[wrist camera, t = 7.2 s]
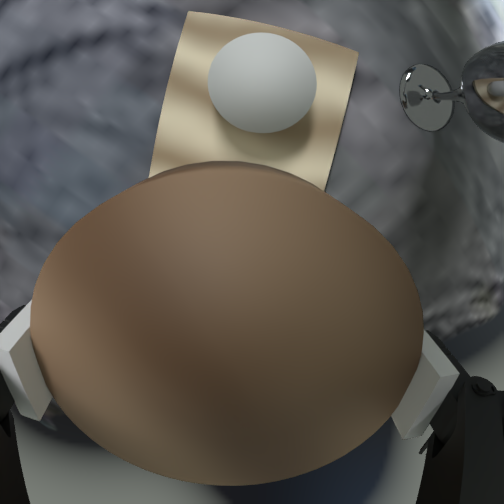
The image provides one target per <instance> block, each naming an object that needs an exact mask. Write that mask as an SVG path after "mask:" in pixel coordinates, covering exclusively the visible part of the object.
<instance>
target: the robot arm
mask: <svg viewBox="0 0 504 504" xmlns="http://www.w3.org/2000/svg"><path fill="white" fill-rule="evenodd" d="M31 303H32V300H31V301H30V302H29V303H28V304H27V305H23V306H21V307H19V308H17V309H16V310H14V311H12V312H11V313H10V314H9V315H8V316H7V317H6V318H5V321H3V322H2V323H1V324H0V504H30V501H29V497H28V494H27V490H26V486H25V481H24V477H23V472H22V468H21V463H20V457H19V452H18V446H17V440H16V433H15V425H14V418H13V415H12V413H11V411H10V409H11V407H12V405H13V404H14V402H15V404H16V406H17V408H18V410H19V412H20V414H21V415H23V416H26V417H29V418H32V419H35V420H38V421H40V420H41V418H42V416H43V414H44V412H45V410H46V408H47V406H48V404H49V402H50V401H51V399H52V397H53V396H52V394H51V392H50V391H49V389H48V387H47V386H46V384H45V381H44V378H43V376H42V373H41V370H40V368H39V365H38V362H37V359H36V356H35V353H34V350H33V347H32V340H31V332H30V311H31ZM391 417H392V419H393V421H394V423H395V425H396V427H397V429H398V431H399V433H400V436H401V438H402V440H405V439H410V438H414V437H418V436H422V434H423V433H424V431H425V430H426V428H427V427H428V425H429V424H430V425H431V426H432V428H433V430H434V431H433V433H432V434H431V436H430V437H429V439H428V440H427V441H426V443H425V444H424V445H423V447H422V448H421V449H420V452H419V454H422V453H423V451H424V450H425V449H426V448H427V447H428V448H427V453H426V459H425V465H424V470H423V475H422V480H421V484H420V488H419V493H418V497H417V501H416V504H504V391H497V389H496V387H495V386H494V385H493V384H492V383H491V382H490V381H488V380H487V379H484V378H482V377H478V376H472V377H470V376H469V374H468V373H467V372H466V371H465V369H464V368H463V367H462V366H461V365H460V363H459V362H458V361H457V360H456V358H455V357H454V356H453V355H451V352H450V351H449V350H448V349H447V348H445V345H444V344H443V343H442V342H441V340H440V339H439V338H438V337H436V336H435V335H433V334H432V333H431V332H429V331H425V330H424V335H423V345H422V353H421V357H420V360H419V364H418V368H417V370H416V372H415V374H414V376H413V378H412V381H411V383H410V385H409V386H408V388H407V390H406V392H405V394H404V396H403V398H402V400H401V402H400V404H399V406H398V407H397V408H396V410H395V411H394V412H393V413H392V415H391Z"/></svg>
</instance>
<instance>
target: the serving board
mask: <svg viewBox="0 0 504 504" xmlns="http://www.w3.org/2000/svg"><path fill="white" fill-rule="evenodd" d="M251 33H271V34H276V35H279V36H282V37H285V38H287V39H289V40H291V41H292V42H294V43H295V44H297V45H298V46H299V47H300V48H301V49H302V50H303V51H304V52H305V53H306V54H307V56H308V57H309V59H310V61H311V62H312V64H313V67H314V70H315V73H316V80H317V89H316V95H315V98H314V101H313V103H312V105H311V107H310V109H309V110H308V112H307V113H306V114H305V115H304V117H303V118H302V119H300V120H299V121H298V122H297V123H295V124H294V125H292V126H290V127H288V128H286V129H284V130H281V131H277V132H272V133H254V132H248V131H245V130H242V129H239V128H237V127H235V126H234V125H232V124H230V123H229V122H228V121H227V120H225V119H224V118H223V117H222V116H221V115H220V113H219V112H218V111H217V109H216V108H215V106H214V104H213V103H212V100H211V98H210V95H209V91H208V74H209V69H210V66H211V63H212V61H213V59H214V58H215V56H216V55H217V53H218V52H219V51H220V50H221V49H222V48H223V47H224V46H225V45H226V44H227V43H229V42H230V41H232V40H234V39H236V38H238V37H240V36H243V35H246V34H251ZM358 54H359V52H356V51H353V50H351V49H348V48H345V47H343V46H340V45H337V44H334V43H331V42H328V41H325V40H322V39H319V38H316V37H313V36H309V35H306V34H302V33H299V32H295V31H292V30H288V29H284V28H280V27H276V26H272V25H268V24H264V23H259V22H254V21H250V20H244V19H239V18H234V17H228V16H222V15H215V14H208V13H200V12H192V11H188V14H187V17H186V21H185V24H184V27H183V30H182V34H181V37H180V40H179V44H178V47H177V51H176V55H175V58H174V62H173V66H172V70H171V73H170V77H169V81H168V85H167V90H166V94H165V98H164V102H163V107H162V111H161V116H160V121H159V126H158V131H157V136H156V141H155V146H154V151H153V157H152V163H151V169H150V175H149V178H150V177H152V176H154V175H156V174H158V173H161V172H163V171H166V170H169V169H173V168H176V167H180V166H183V165H187V164H193V163H200V162H207V161H242V162H249V163H255V164H261V165H266V166H270V167H273V168H276V169H279V170H283V171H286V172H289V173H291V174H293V175H296V176H298V177H300V178H302V179H304V180H306V181H308V182H310V183H312V184H314V185H315V186H317V187H318V188H320V189H321V190H323V191H324V189H325V186H326V182H327V179H328V175H329V171H330V168H331V164H332V160H333V157H334V153H335V149H336V145H337V142H338V138H339V134H340V130H341V126H342V122H343V118H344V114H345V110H346V106H347V102H348V98H349V94H350V90H351V85H352V81H353V77H354V72H355V68H356V63H357V59H358Z"/></svg>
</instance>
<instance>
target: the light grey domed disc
mask: <svg viewBox="0 0 504 504" xmlns="http://www.w3.org/2000/svg"><path fill="white" fill-rule="evenodd" d="M316 89H317V80H316V73H315V70H314V67H313V64H312V62H311V61H310V59H309V57H308V56H307V54H306V53H305V52H304V51H303V50H302V49H301V48H300V47H299V46H298V45H297V44H295V43H294V42H292V41H291V40H289V39H287V38H285V37H282V36H279V35H276V34H271V33H251V34H246V35H243V36H240V37H238V38H236V39H234V40H232V41H230V42H229V43H227V44H226V45H225V46H224V47H223V48H222V49H221V50H220V51H219V52H218V53H217V55H216V56H215V58H214V59H213V61H212V63H211V66H210V69H209V74H208V91H209V95H210V98H211V100H212V103H213V104H214V106H215V108H216V109H217V111H218V112H219V113H220V115H221V116H222V117H223V118H224V119H225V120H227V121H228V122H229V123H230V124H232V125H234V126H235V127H237V128H239V129H242V130H245V131H248V132H254V133H272V132H277V131H281V130H284V129H286V128H288V127H290V126H292V125H294V124H295V123H297V122H298V121H299V120H300V119H302V118H303V117H304V115H305V114H306V113H307V112H308V110H309V109H310V107H311V105H312V103H313V101H314V98H315V95H316Z"/></svg>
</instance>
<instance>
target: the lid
mask: <svg viewBox="0 0 504 504" xmlns="http://www.w3.org/2000/svg"><path fill="white" fill-rule="evenodd" d="M30 332H31V340H32V347H33V350H34V353H35V356H36V359H37V362H38V365H39V368H40V370H41V373H42V376H43V378H44V381H45V384H46V386H47V387H48V389H49V391H50V392H51V394H52V396H53V397H54V399H55V401H56V402H57V403H58V405H59V406H60V407H61V409H62V410H63V411H64V412H65V414H66V415H67V416H68V417H69V418H70V419H71V420H72V421H73V422H74V423H75V424H76V425H77V427H78V428H80V429H81V430H82V431H83V432H84V433H85V434H86V435H88V436H89V437H90V438H91V439H92V440H94V441H95V442H96V443H98V444H99V445H100V446H102V447H103V448H105V449H106V450H108V451H109V452H111V453H112V454H114V455H116V456H118V457H119V458H121V459H123V460H125V461H127V462H129V463H131V464H133V465H135V466H138V467H140V468H142V469H144V470H148V471H150V472H153V473H156V474H159V475H162V476H165V477H169V478H173V479H177V480H181V481H186V482H192V483H198V484H208V485H223V486H239V485H253V484H261V483H268V482H274V481H279V480H283V479H287V478H291V477H295V476H298V475H301V474H304V473H307V472H310V471H312V470H315V469H317V468H320V467H322V466H324V465H326V464H329V463H331V462H333V461H334V460H336V459H338V458H340V457H342V456H344V455H345V454H347V453H348V452H350V451H351V450H353V449H354V448H356V447H357V446H359V445H360V444H362V443H363V442H364V441H365V440H366V439H368V438H369V437H370V436H371V435H372V434H374V433H375V432H376V431H377V430H378V429H379V428H380V427H381V426H382V425H383V424H384V423H385V422H386V420H388V419H389V417H390V416H391V415H392V413H393V412H394V411H395V410H396V408H397V407H398V406H399V404H400V402H401V400H402V398H403V396H404V394H405V392H406V390H407V388H408V386H409V385H410V383H411V381H412V378H413V376H414V374H415V372H416V370H417V368H418V364H419V360H420V357H421V353H422V345H423V335H424V326H423V311H422V307H421V303H420V298H419V294H418V290H417V288H416V286H415V283H414V281H413V279H412V276H411V274H410V272H409V270H408V268H407V266H406V265H405V263H404V262H403V260H402V259H401V257H400V256H399V254H398V253H397V251H396V250H395V248H394V247H393V246H392V245H391V244H390V243H389V242H388V241H387V240H386V239H385V238H384V237H383V235H382V234H381V233H380V232H379V231H378V230H377V229H376V228H375V227H374V226H373V225H371V224H370V223H368V222H367V221H366V220H364V219H363V218H362V217H360V216H359V215H358V214H356V213H355V212H353V211H352V210H351V209H349V208H348V207H346V206H345V205H343V204H342V203H341V202H339V201H338V200H336V199H335V198H333V197H332V196H330V195H329V194H327V193H326V192H324V191H323V190H321V189H320V188H318V187H317V186H315V185H314V184H312V183H310V182H308V181H306V180H304V179H302V178H300V177H298V176H296V175H293V174H291V173H289V172H286V171H283V170H279V169H276V168H273V167H270V166H266V165H261V164H255V163H249V162H242V161H207V162H200V163H193V164H187V165H183V166H180V167H176V168H173V169H169V170H166V171H163V172H161V173H158V174H156V175H154V176H152V177H150V178H148V179H145V180H143V181H141V182H139V183H137V184H136V185H134V186H132V187H130V188H128V189H127V190H125V191H123V192H121V193H120V194H118V195H116V196H114V197H113V198H111V199H109V200H107V201H106V202H104V203H102V204H101V205H99V206H98V207H96V208H95V209H94V210H92V211H91V212H90V213H88V214H87V215H86V216H84V217H83V218H82V219H80V220H79V221H78V222H76V223H75V224H74V225H73V226H72V227H71V229H70V230H69V231H68V232H67V233H66V234H65V235H64V236H63V237H62V238H61V239H60V240H59V241H58V243H57V244H56V246H55V247H54V249H53V250H52V252H51V253H50V255H49V256H48V258H47V260H46V261H45V263H44V265H43V267H42V269H41V272H40V274H39V277H38V279H37V282H36V284H35V288H34V293H33V298H32V303H31V311H30Z"/></svg>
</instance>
